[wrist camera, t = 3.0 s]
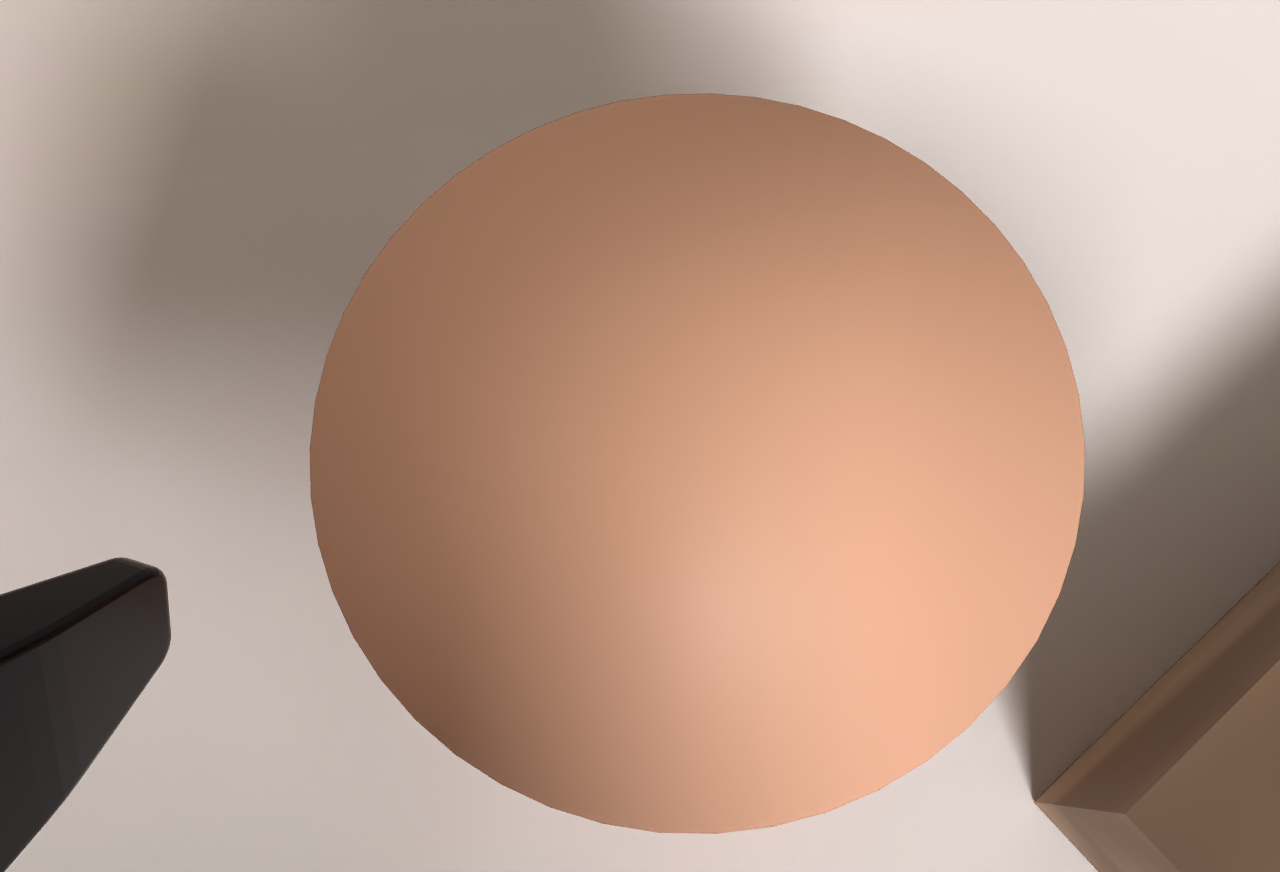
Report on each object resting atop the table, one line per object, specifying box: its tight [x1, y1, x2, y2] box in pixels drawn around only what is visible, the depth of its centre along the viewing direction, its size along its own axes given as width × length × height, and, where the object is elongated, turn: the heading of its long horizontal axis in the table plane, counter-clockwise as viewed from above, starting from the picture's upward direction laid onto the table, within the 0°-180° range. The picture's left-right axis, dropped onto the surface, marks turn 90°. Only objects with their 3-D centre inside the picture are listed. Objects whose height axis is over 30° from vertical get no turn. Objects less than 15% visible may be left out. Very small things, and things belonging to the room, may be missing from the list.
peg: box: [310, 94, 1085, 834], centre depth 12 cm, size 4×4×13 cm
